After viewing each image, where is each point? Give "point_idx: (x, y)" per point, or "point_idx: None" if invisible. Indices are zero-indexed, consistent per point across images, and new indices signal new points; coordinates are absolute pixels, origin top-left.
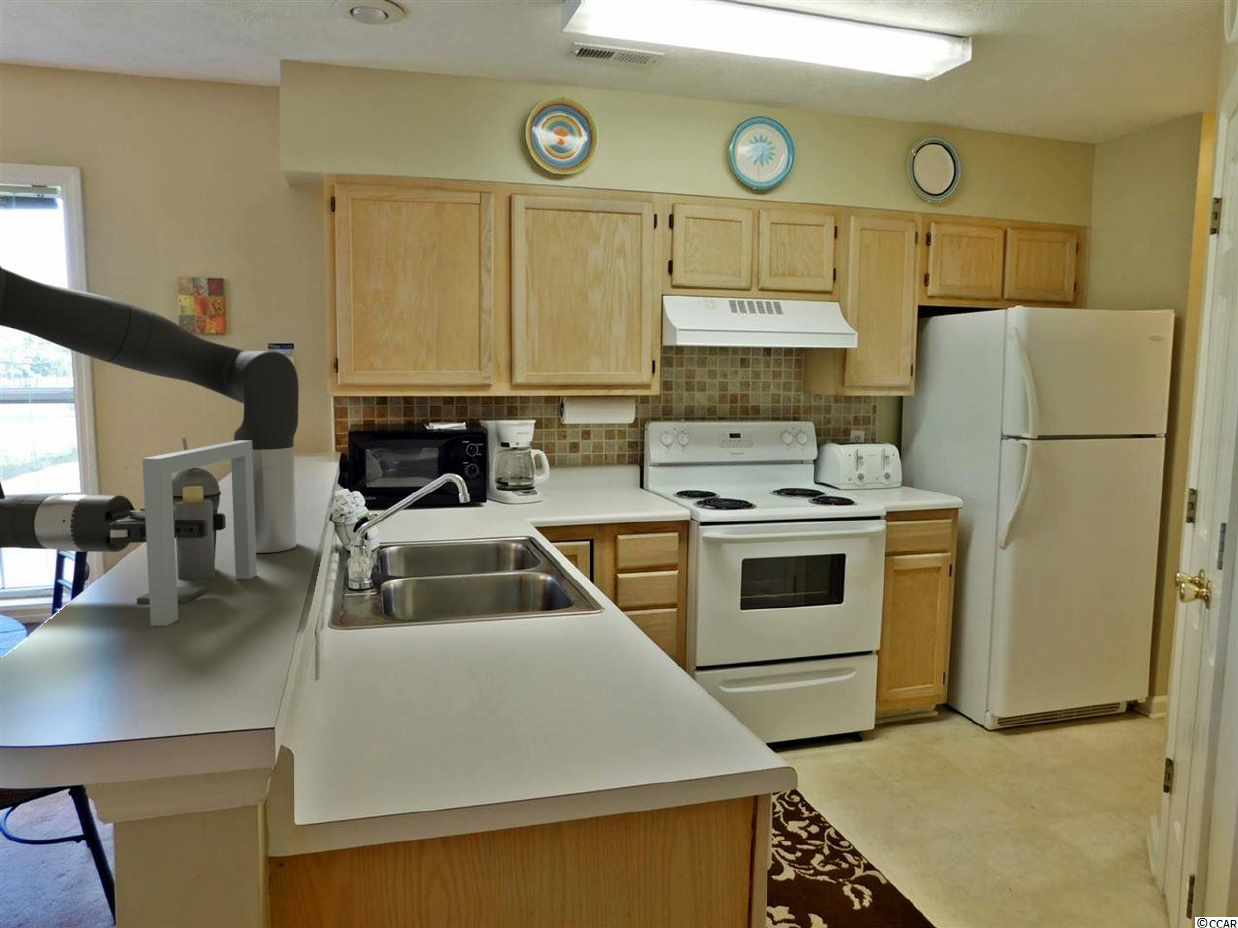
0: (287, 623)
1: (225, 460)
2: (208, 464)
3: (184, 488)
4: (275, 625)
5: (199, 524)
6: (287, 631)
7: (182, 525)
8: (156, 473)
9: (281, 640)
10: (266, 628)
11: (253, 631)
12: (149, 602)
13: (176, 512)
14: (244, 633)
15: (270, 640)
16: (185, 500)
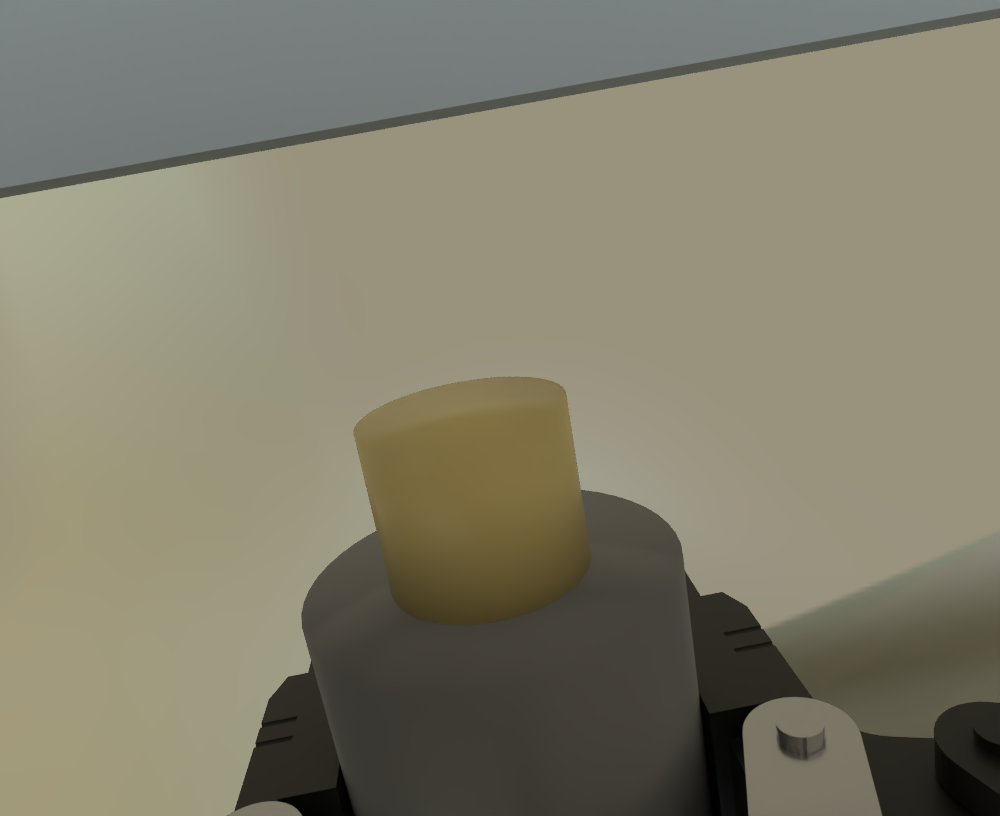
0: (822, 615)
1: (100, 179)
2: (467, 113)
3: (549, 409)
4: (860, 627)
5: (702, 597)
6: (888, 582)
7: (786, 668)
8: None
9: (964, 558)
10: (904, 629)
11: (956, 639)
12: None
13: (679, 681)
14: (994, 647)
15: (986, 573)
16: (584, 533)
